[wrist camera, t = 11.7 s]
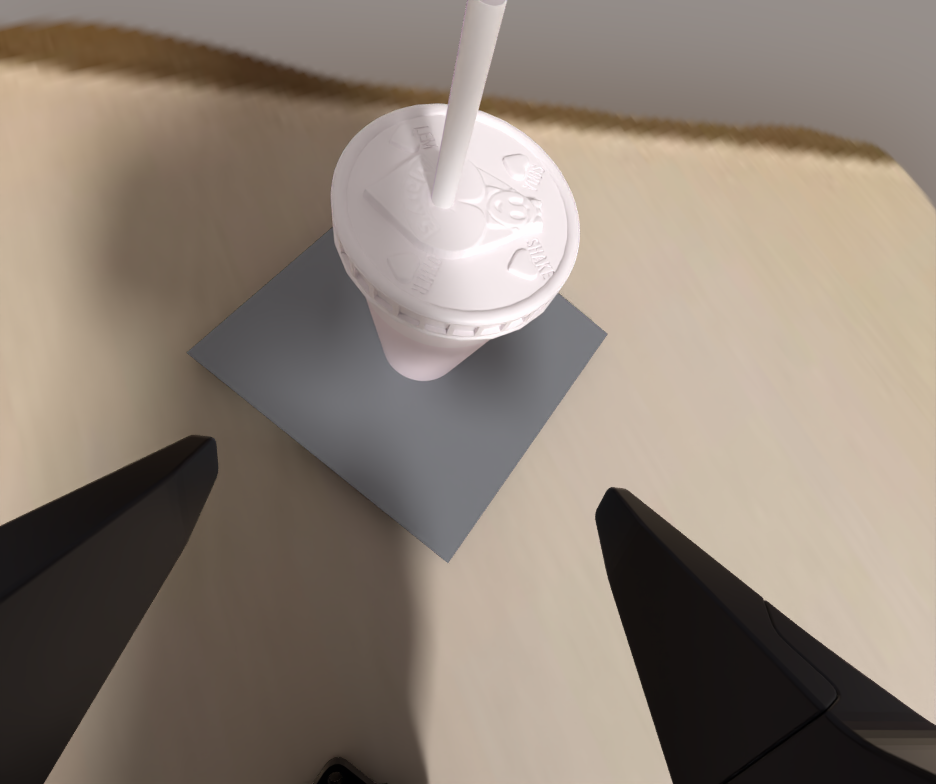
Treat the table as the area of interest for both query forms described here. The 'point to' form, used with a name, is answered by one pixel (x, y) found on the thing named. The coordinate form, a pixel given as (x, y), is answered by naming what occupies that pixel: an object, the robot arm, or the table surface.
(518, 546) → the table surface
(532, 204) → the smoothie
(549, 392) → the placemat
